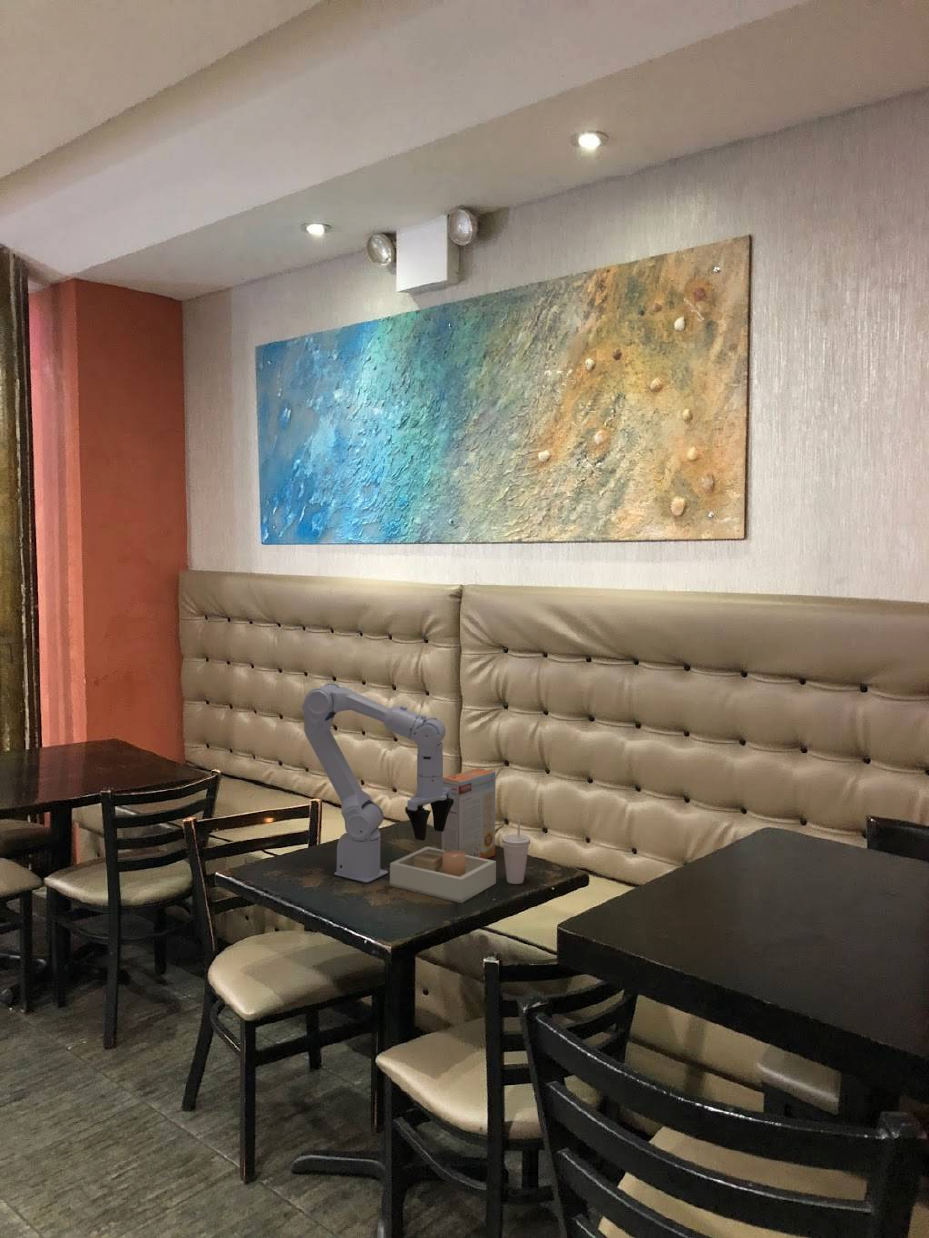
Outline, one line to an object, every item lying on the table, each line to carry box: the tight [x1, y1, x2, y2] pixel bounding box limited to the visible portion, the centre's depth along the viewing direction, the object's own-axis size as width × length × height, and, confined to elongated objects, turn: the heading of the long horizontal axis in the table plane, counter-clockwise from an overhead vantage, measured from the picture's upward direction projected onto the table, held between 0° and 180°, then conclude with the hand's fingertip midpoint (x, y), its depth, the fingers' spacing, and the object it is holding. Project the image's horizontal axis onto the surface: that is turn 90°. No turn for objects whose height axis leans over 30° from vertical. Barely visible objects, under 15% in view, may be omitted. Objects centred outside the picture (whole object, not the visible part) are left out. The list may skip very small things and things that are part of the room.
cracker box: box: [441, 767, 496, 859], centre depth 225 cm, size 14×6×21 cm, turn 141°
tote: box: [389, 846, 497, 904], centre depth 209 cm, size 18×14×5 cm
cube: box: [414, 852, 443, 873], centre depth 211 cm, size 5×5×5 cm
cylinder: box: [442, 850, 466, 877], centre depth 207 cm, size 5×5×7 cm
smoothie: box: [501, 818, 531, 885], centre depth 212 cm, size 6×6×14 cm
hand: (429, 835), depth 211 cm, fingers open, 7 cm apart
